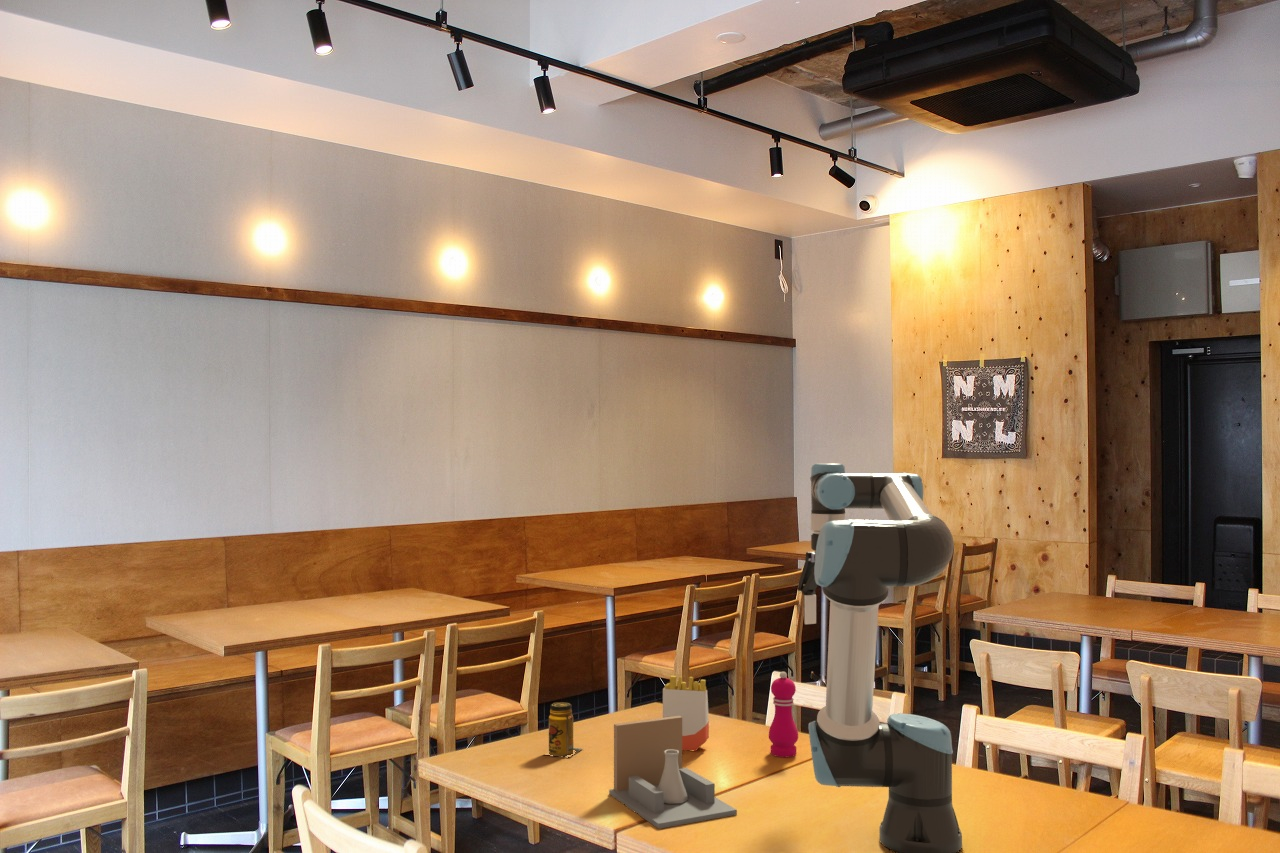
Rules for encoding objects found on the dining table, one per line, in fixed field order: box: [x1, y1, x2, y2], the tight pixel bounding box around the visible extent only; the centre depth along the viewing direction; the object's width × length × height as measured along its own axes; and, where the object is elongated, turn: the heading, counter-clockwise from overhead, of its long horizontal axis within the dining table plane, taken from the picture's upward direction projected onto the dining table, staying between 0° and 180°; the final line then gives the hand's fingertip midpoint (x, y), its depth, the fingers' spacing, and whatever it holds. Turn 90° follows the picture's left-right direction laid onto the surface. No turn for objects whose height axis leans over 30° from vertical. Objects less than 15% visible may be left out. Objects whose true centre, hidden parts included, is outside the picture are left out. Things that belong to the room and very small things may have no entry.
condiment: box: [548, 701, 584, 759], centre depth 256 cm, size 7×8×12 cm
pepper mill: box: [768, 671, 799, 758], centre depth 255 cm, size 7×7×20 cm
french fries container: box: [662, 675, 710, 752], centre depth 260 cm, size 5×11×18 cm, turn 75°
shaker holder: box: [608, 716, 738, 830], centre depth 218 cm, size 23×18×15 cm
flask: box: [658, 749, 688, 804], centre depth 218 cm, size 7×7×10 cm
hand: (828, 628), depth 231 cm, fingers open, 13 cm apart
